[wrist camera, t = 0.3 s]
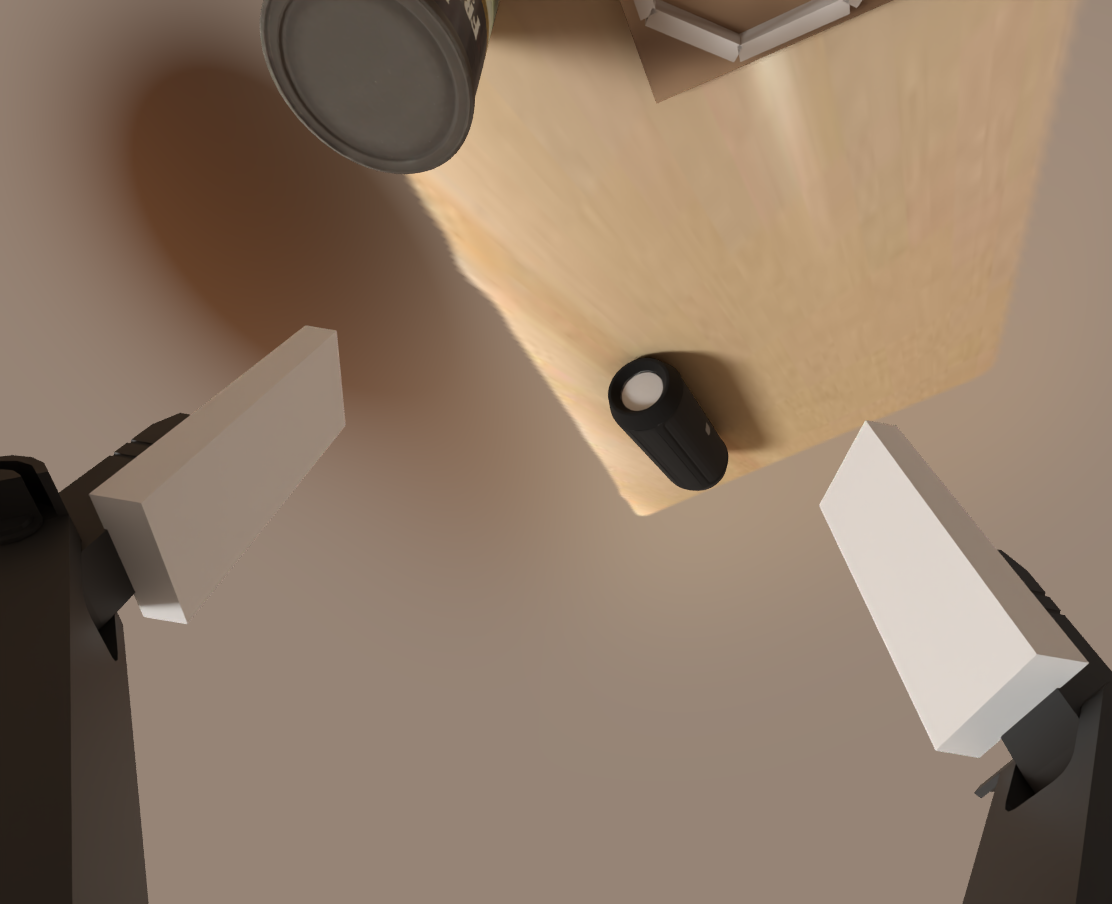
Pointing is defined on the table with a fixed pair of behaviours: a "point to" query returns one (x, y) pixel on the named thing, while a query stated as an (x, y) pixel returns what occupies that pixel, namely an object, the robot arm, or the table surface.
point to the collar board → (723, 34)
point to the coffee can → (380, 74)
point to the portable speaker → (667, 423)
